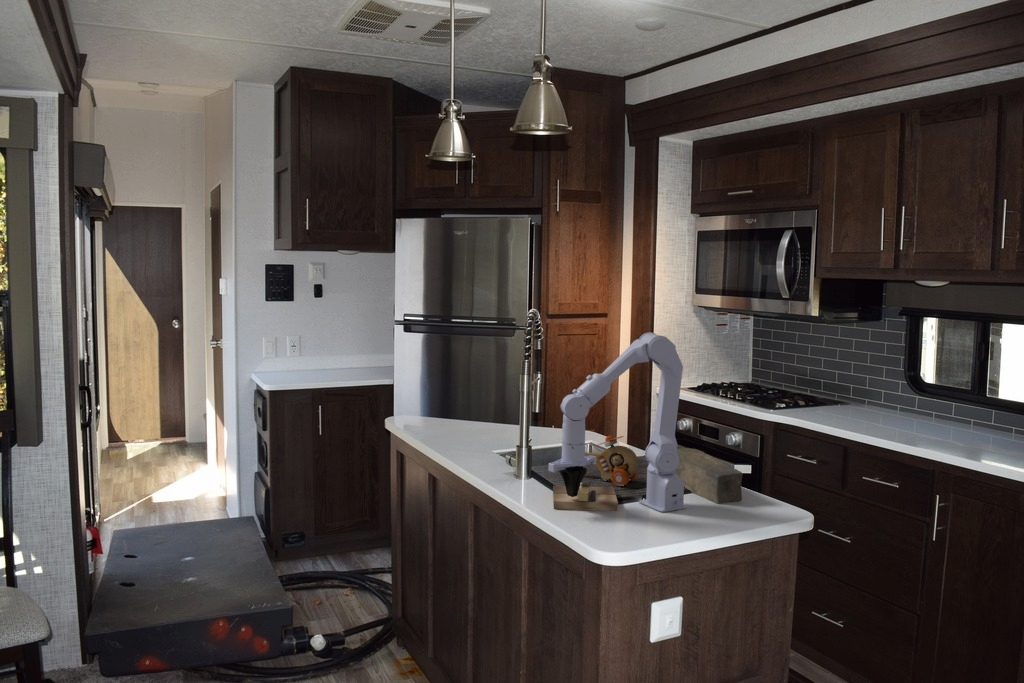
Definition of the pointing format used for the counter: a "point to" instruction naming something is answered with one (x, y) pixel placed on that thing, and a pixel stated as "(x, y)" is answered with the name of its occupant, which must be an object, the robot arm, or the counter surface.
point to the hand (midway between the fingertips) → (572, 495)
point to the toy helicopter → (616, 462)
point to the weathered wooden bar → (708, 476)
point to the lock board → (596, 501)
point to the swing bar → (584, 491)
